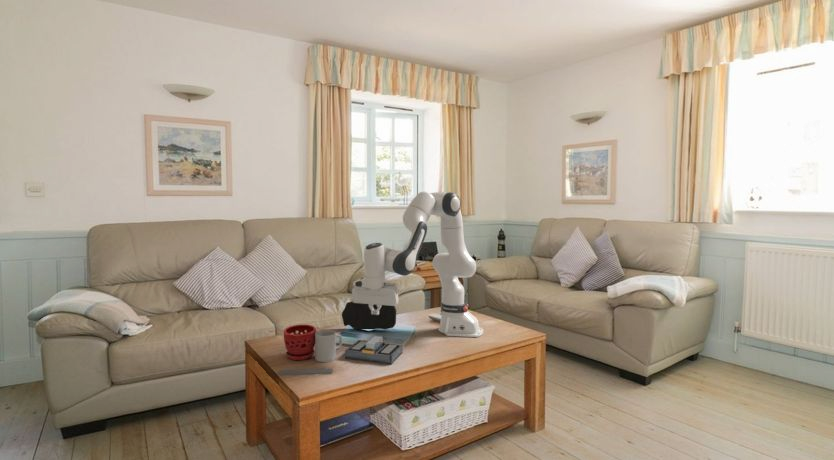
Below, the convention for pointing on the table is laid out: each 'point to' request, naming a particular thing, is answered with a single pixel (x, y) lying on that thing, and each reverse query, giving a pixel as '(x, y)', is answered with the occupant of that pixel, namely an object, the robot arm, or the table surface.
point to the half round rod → (305, 372)
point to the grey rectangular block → (374, 344)
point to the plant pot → (299, 341)
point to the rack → (381, 356)
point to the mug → (326, 345)
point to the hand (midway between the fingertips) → (375, 314)
